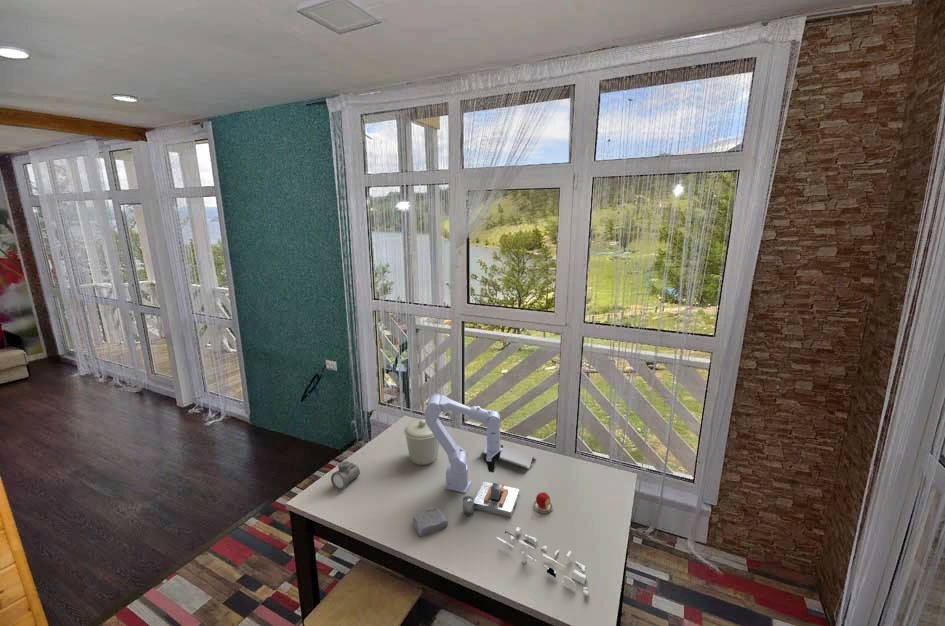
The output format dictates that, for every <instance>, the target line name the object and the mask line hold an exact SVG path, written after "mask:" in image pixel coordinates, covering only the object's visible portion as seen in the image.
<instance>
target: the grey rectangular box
mask: <svg viewBox="0 0 945 626" xmlns="http://www.w3.org/2000/svg"><path fill="white" fill-rule="evenodd" d="M492 483H493V485H492V487H491V500H492V501H497V502H499V501H500V499H501V484H498V483H496V482H492Z"/></svg>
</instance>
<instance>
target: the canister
mask: <svg viewBox="0 0 945 626" xmlns="http://www.w3.org/2000/svg"><path fill="white" fill-rule="evenodd" d="M403 434H404V435H405V439H406V444H407V449H408V455H409V458H410V460H411V462H413V463H414V464H415V465H418V466H425V465H429V464H431V463H434V462H435V461H436V460H437V458H438V454H439V449H440V443H439V441H438V440H437V439H436V437H435V436H434V434H433V433H432V431H431V430H430V428H429V427H428V426H427V424H426V422H425V418H422V419H421V418H420V419H416V420H413V421H411V422H409V423H408V424H406V426H404V428H403Z"/></svg>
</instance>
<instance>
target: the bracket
mask: <svg viewBox="0 0 945 626" xmlns="http://www.w3.org/2000/svg"><path fill="white" fill-rule="evenodd" d="M497 484H501V493H503V494H502V497H501V499H500V501H499V505H500V506H503V504H504V501H505V499H506V496H507V494H508V489H503V487H504V486H505V484H504V483H501V482H498V483H497ZM491 487H492V486H490V487H489V489H488V492H487V494H486V496H485V498H484V502H487V503H488V500H489V498H490V496H491Z"/></svg>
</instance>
